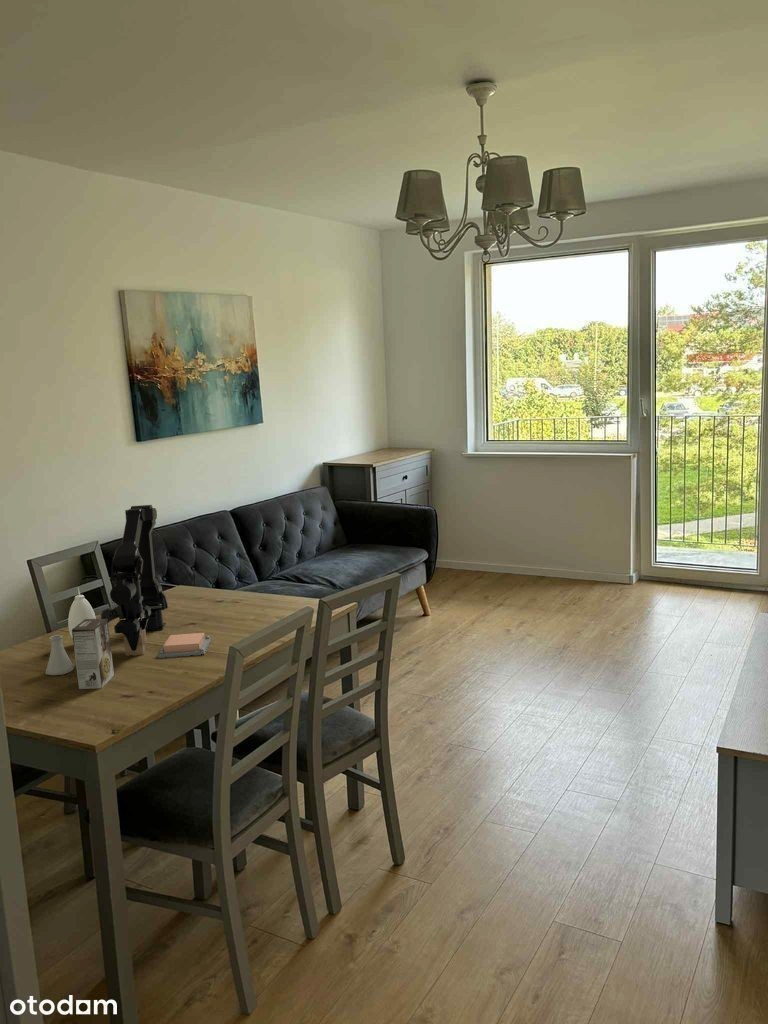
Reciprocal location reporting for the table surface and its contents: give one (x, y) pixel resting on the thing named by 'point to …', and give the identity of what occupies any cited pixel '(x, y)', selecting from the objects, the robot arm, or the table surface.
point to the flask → (58, 658)
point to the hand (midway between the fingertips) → (136, 647)
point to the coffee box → (93, 653)
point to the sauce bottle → (79, 612)
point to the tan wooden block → (140, 646)
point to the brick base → (186, 653)
